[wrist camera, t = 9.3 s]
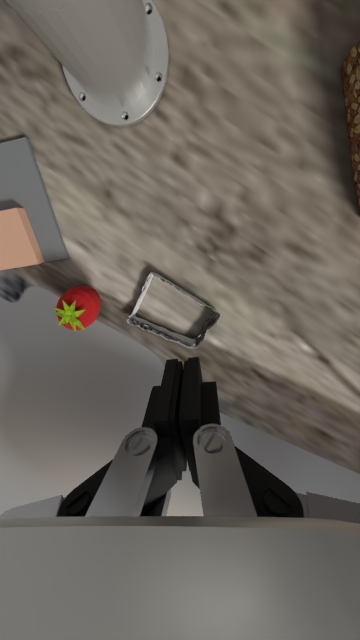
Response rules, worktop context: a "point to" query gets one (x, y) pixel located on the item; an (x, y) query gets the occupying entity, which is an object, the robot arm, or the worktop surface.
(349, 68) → the bread
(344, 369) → the worktop surface
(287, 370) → the worktop surface
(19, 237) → the tile
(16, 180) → the mat
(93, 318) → the strawberry
